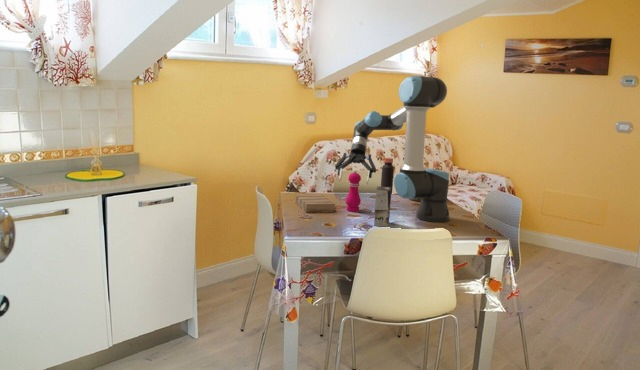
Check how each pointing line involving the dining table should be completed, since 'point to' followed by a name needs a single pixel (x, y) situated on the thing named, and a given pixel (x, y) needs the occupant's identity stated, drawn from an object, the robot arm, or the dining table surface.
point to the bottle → (387, 173)
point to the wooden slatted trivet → (315, 203)
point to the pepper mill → (353, 192)
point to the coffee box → (382, 206)
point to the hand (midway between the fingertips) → (353, 181)
